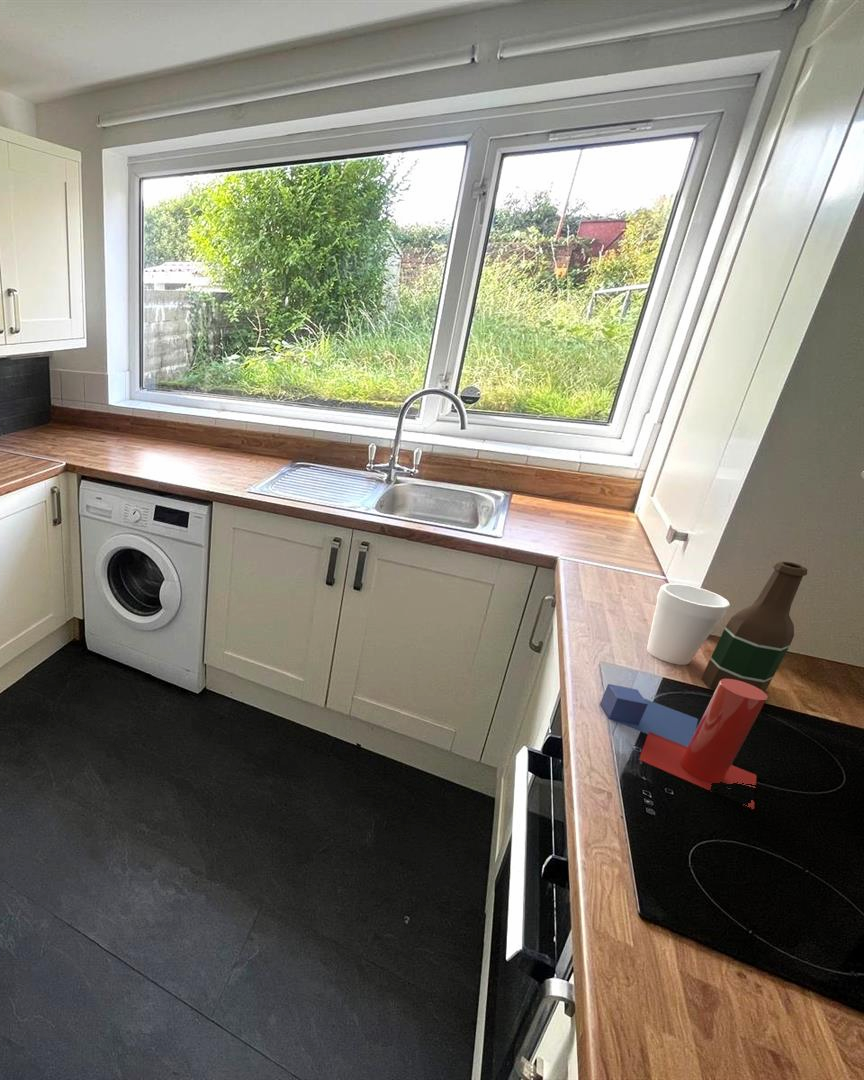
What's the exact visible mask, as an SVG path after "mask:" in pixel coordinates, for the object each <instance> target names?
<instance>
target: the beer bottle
mask: <svg viewBox="0 0 864 1080" xmlns="http://www.w3.org/2000/svg"><path fill="white" fill-rule="evenodd" d="M772 568H773V571H772V573H771V575H770V576H769V578H768V580H767V582H766V583H765V585H764V587H763V589H762V590H761V592H760V593H759V595H758V597H757V598H756V599H755V600H754V602H753V603H752V604H751V605H748V606H747V607H745V608H743V609H741V610H738V611H737V612H736V613H735V614H734V615H732V616H731V617H730V619H729V621H728V622H727V624H726V626H724V629H723V631H722V633H721V635H720V638H719V640H718V642H717V644H716V646H715V648H714V650H713V652H712V654H711V657H710V659H709V660H708V663H707V665H706V667H705V669H704V671H703V673H702V677H701V681H702V682H704V684H705V685H706V686H707V687H708V688H709V689H710V690H712V691H714V692H715V690H716V688H717V686H718V684H719V682H720V680H722V679H734V680H739V681H742V682H745V683H748V684H750V685H753V686H755V687H757V688H759V689H760V690H762V691H763V692H764V693H765V694H766V691H767V690H768V688H769V686H770V684H771V682H772V680H773V678H774V677H775V675H776V673H777V670H778V669H779V667H780V665H781V664H782V661H783V660H784V658H785V656H786V654H787V652H788V650H789V649H790V646H791V644H792V642H793V639H794V637H795V626H794V622H793V620H792V618H791V615H790V611H791V607H792V604H793V602H794V599H795V597H796V594H797V592H798V589H799V587H800V585H801V582H802V580H803V577H805V576H807V575H808V569H807V568H806V567H804V566H803V565H801V564H798V563H795V562H792V561H791V562H790V561H778V562H776V563H775V564H774V565H773V566H772Z"/></svg>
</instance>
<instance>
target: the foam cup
mask: <svg viewBox="0 0 864 1080" xmlns="http://www.w3.org/2000/svg"><path fill="white" fill-rule="evenodd" d="M655 604H656V605H655V609H654V614H653V618H652V622H651V627H650V631H649V632H650V633H649V635H648V636H649V637H648V642H647V647H646V650H647V652H648V654H650V655H651V656H652V657H654V658H656V659H658V660H660V661H663V662H666V663H669V664H673V665H679V666H685V665H689V664H690V663H691V661H692V660H693V659H694V657H695V656H696V655H697V653H698V651H700V649H701V647H702V646H703V645H704V644H705V642H706V640H707V639H708V638H709V636H710V635H711V634H712V633H713V630H714V629H715V628H716V626H717V625H718V623H719V622H720V621H721V619H722V618H724V617H726V614H727V612H728V610H729V607H730V606H731V604H730V602H729V600H728V599H726V598H725V597H723V596H722V595H720V594H718V593H715V592H713V591H711V590H708V589H705V588H702V587H697V586H694V585H691V584H684V583H683V584H682V583H678V582H677V583H676V582H675V583H674V582H673V583H672V582H671V583H669V582H668V583H664V584H662V585H660V588H659V590H658V593H657V594H656V603H655Z"/></svg>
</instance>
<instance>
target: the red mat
mask: <svg viewBox="0 0 864 1080" xmlns="http://www.w3.org/2000/svg"><path fill="white" fill-rule="evenodd" d="M650 733H651V735H650ZM653 734H654V733H652V732H649V734H646V738H645V741H644V744H643V747H642V749H641V752H640V756H639V758H638V760H639V761H641V762H643V763H645V764H647V765H649V766H652V767H654V768H656V769H659V770H661V771H664V772H666V773H668V774H670V775H673V776H674V777H677V778H680V779H682V780H683V781H686V782H689V783H691V784H693V785H696V786H698V787H699V788H702V789H705V790H707V791H709V790H710V789H711V786H712V785H711V784H712V783H711V782H707V781H704V780H701V779H699V778H697V777H695V776H693V775H691V774H690V773H688V772H687V771H686V770H685V769H683V767H682V766H681V764H680V761H681V759H682V757H683V755H684V753H685V751H686V749H687V747H685V746H684V745H681V744H679V743H676V742H674V741H672V742H671V740H669V739H667V740H668V741H667V740H665V738H664V737H661V736H659V735H657V734H654V735H655V736H654V735H653ZM657 736H658V737H657ZM674 744H676V745H674ZM677 744H679V745H677ZM680 745H681V746H680ZM722 782H723V783H726V784H733V783H737V782H738V783H737V784H742V783H744V784H742V785H746V784H752V785H756V787H755V786H751V785H746V786H749V787H753V788H757V774H755V773H752V772H750V771H748V770H746V769H743V768H740V767H738V766H735V765H733V764H732V765H731V767H730V769H729V771H728V772H727V774H726V776H725V778H724V780H723V781H722ZM727 788H728V787H727ZM728 789H731V788H728ZM709 792H712V791H711V790H710V791H709ZM755 802H756V801H755ZM755 802H754V801H753V800H751V803H748V806H747V805H745V804H743V805H742V806H744V805H745V806H744V807H746V806H747V807H746V808H748V807H749V809H750V807H751V810H753V809H754V810H755Z"/></svg>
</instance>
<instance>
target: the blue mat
mask: <svg viewBox="0 0 864 1080" xmlns="http://www.w3.org/2000/svg"><path fill="white" fill-rule="evenodd" d="M644 699H645V701H646V702H647V704H648V705H647V707H646V710H645V712H644V714H643V716H642V719H641V721H640V723H639V725H637V724H632V723H627V722H623V721H618V720H613V719H610V720H612V721H614V722H617V723H619V724H621V725H624V726H626V727H628V728H631V729H634V730H636V731H637V732H638V731H639V732H641V733H643V734H645V735H648V734H649V732H652V733H654V734H657V735H659V736H661V737H664V738H665V740H667V739H669V740H671V742H672V741H674V742H676V743H679V744H681V745H684V746H685V747H688V745H689V743H690V741H691V739H692V737H693V735H694V732H695V730H696V728H697V726H698V724H699V718H697V717H695V716H691V715H689V714H686V713H684V712H682V711H679V710H676V709H673V708H670V707H668V706H665V705H664V704H663V705H662V704H660V703H658V702H655V701H652V700H649V699H647V698H644ZM654 734H653V735H654ZM650 735H651V733H650ZM654 736H655V735H654ZM657 737H658V736H657ZM667 741H668V740H667ZM679 744H677V745H679ZM674 745H676V744H674ZM681 745H680V746H681Z"/></svg>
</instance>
